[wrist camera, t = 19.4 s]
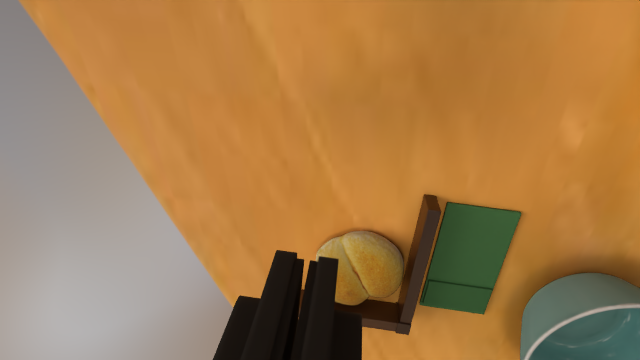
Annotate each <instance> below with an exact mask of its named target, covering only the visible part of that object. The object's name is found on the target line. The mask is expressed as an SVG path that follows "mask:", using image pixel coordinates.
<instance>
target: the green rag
mask: <svg viewBox="0 0 640 360" xmlns="http://www.w3.org/2000/svg"><path fill="white" fill-rule="evenodd" d="M520 216H521V212H518V211H511V210H503V209H496V208H489V207H481V206H474V205H466V204H459V203H451V202H447V205H446V208H445V212H444V216H443V219H442V223H441V227H440V230H439V234H438V238H437V241H436V245H435V249H434V252H433V256H432V260H431V263H430V267H429V270H428V274H427V278H426V281H425V285H424V289H423V292H422V296H421V300H420V305H423V306H430V307H437V308H444V309H450V310H457V311H464V312H471V313H478V314H484V312H485V310H486V307H487V304H488V301H489V299H490V296H491V293H492V291H493V288H494V285H495V283H496V280H497V277H498V275H499V272H500V269H501V267H502V264H503V261H504V259H505V256H506V253H507V251H508V248H509V245H510V243H511V240H512V237H513V235H514V232H515V229H516V227H517V224H518V221H519V219H520Z"/></svg>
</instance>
